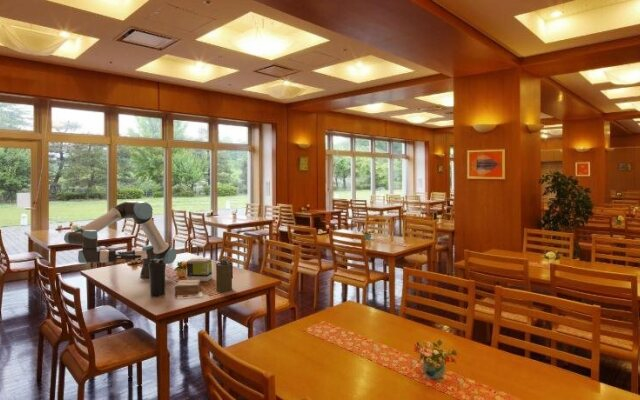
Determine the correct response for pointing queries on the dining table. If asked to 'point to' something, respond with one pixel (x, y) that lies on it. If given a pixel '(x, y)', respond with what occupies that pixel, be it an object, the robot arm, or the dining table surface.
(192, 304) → the dining table surface
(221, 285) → the canister
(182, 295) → the page
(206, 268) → the tea box
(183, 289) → the plinth
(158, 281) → the water bottle
